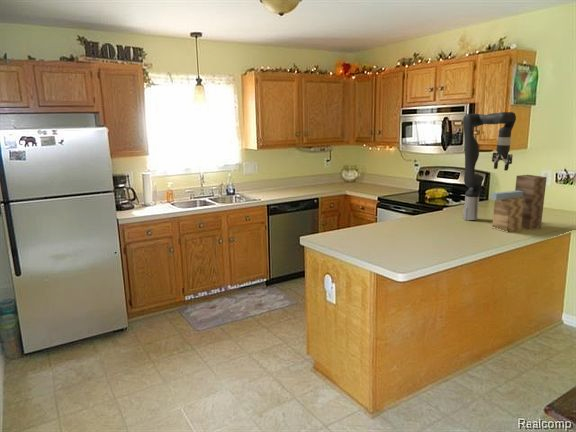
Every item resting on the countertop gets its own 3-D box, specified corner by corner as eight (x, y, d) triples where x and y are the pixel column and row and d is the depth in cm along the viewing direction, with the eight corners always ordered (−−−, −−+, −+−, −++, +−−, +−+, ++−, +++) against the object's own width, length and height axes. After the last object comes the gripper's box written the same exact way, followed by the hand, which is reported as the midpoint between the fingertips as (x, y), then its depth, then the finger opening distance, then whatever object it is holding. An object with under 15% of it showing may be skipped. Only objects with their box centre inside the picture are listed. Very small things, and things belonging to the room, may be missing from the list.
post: (529, 229, 275) (534, 178, 267) (511, 224, 288) (516, 175, 280) (540, 228, 278) (546, 177, 270) (522, 223, 291) (528, 174, 283)
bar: (496, 200, 267) (496, 194, 266) (491, 199, 270) (491, 193, 269) (522, 197, 274) (523, 191, 273) (517, 196, 277) (518, 190, 276)
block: (506, 232, 270) (509, 200, 265) (492, 227, 281) (494, 197, 276) (520, 230, 274) (524, 198, 269) (506, 226, 285) (509, 195, 280)
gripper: (517, 144, 261) (514, 170, 265) (499, 143, 274) (496, 167, 278) (507, 145, 259) (504, 171, 263) (490, 143, 272) (487, 168, 276)
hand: (500, 169), depth 271 cm, fingers open, 8 cm apart
